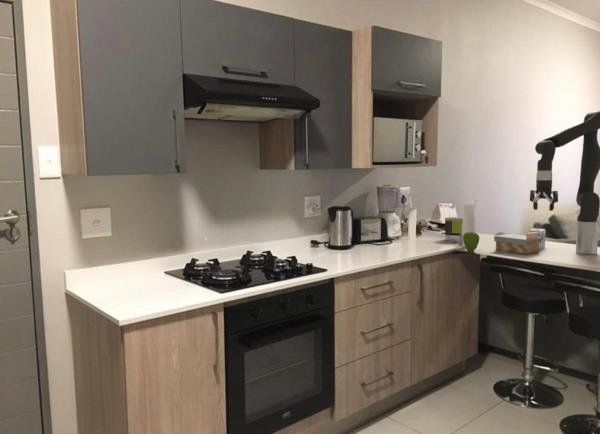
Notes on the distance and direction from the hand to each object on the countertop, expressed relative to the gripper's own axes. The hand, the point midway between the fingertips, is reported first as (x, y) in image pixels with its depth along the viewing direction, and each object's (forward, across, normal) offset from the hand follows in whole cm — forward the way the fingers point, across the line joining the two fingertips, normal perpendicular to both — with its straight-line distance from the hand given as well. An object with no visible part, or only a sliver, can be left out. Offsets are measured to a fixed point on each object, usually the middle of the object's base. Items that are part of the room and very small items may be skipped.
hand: (543, 210), depth 268 cm
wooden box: (+24, +14, +1) cm, 28 cm away
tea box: (+24, +60, -7) cm, 65 cm away
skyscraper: (+24, +42, +7) cm, 49 cm away
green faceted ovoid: (+24, +29, +21) cm, 43 cm away
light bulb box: (+24, +14, -18) cm, 33 cm away
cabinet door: (+19, +14, +1) cm, 23 cm away
